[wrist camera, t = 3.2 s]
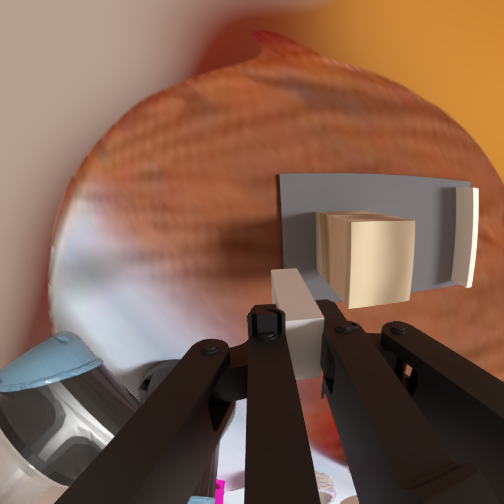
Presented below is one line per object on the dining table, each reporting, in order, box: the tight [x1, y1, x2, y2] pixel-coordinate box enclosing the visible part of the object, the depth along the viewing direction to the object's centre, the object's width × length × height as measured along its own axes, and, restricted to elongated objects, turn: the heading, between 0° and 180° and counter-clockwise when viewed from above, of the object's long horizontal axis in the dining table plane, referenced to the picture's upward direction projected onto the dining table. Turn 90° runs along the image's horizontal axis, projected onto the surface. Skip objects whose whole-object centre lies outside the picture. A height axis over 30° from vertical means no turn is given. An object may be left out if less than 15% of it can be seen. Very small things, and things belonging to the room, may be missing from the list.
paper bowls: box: [314, 470, 336, 504], centre depth 39 cm, size 15×15×8 cm
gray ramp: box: [279, 173, 471, 302], centre depth 32 cm, size 30×16×1 cm, turn 93°
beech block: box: [315, 210, 415, 309], centre depth 26 cm, size 6×7×12 cm
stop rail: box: [451, 187, 478, 288], centre depth 30 cm, size 1×14×4 cm, turn 3°
